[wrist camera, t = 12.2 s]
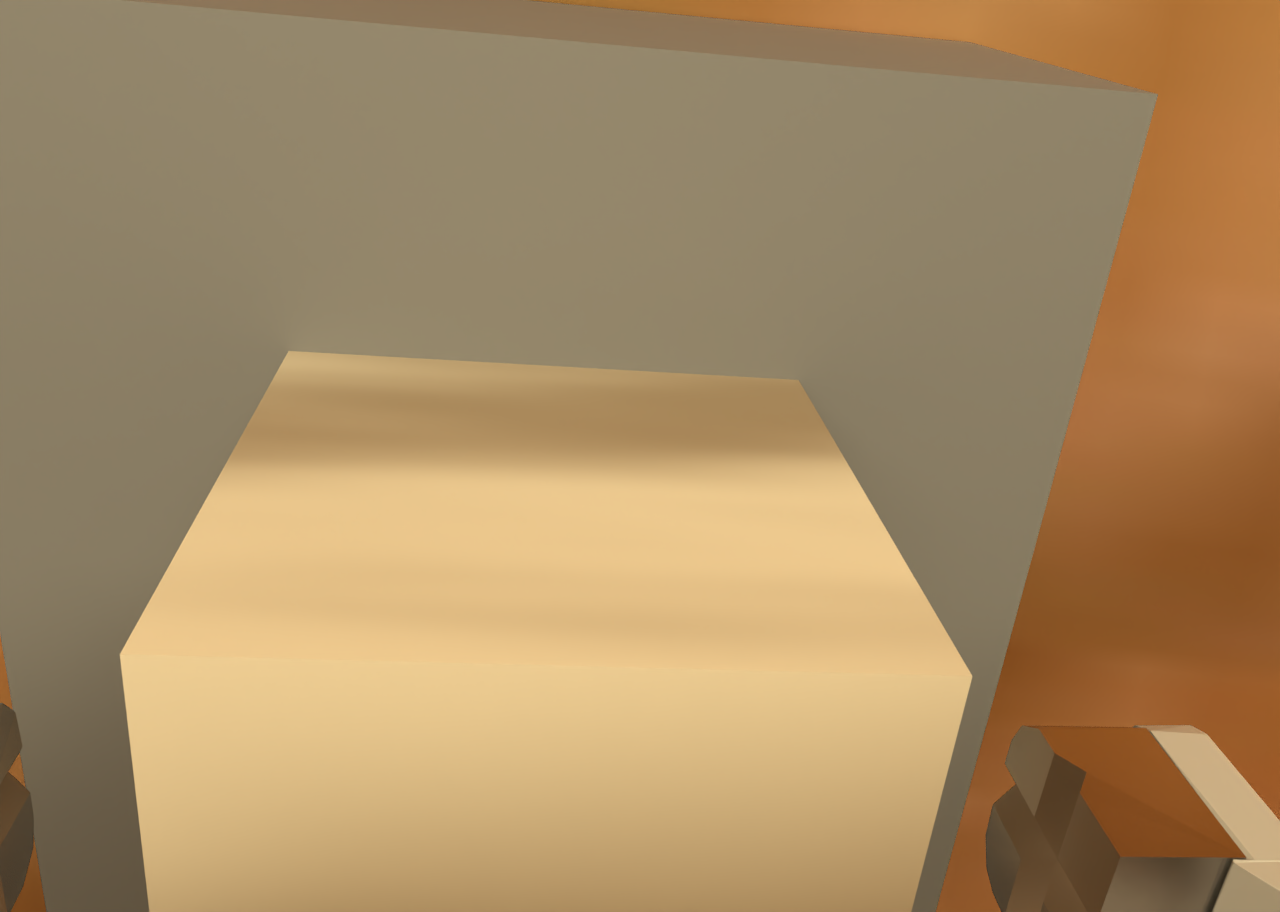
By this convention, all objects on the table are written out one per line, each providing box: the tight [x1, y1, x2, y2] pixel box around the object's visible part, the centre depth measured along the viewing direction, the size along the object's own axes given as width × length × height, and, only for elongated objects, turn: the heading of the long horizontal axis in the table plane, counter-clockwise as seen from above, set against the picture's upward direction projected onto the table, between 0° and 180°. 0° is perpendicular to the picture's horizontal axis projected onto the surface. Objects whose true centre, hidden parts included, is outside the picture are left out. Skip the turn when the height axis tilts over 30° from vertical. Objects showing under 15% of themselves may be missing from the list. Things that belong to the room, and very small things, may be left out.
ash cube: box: [120, 351, 972, 912], centre depth 10 cm, size 5×5×5 cm
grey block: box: [0, 0, 1158, 912], centre depth 14 cm, size 11×11×5 cm
